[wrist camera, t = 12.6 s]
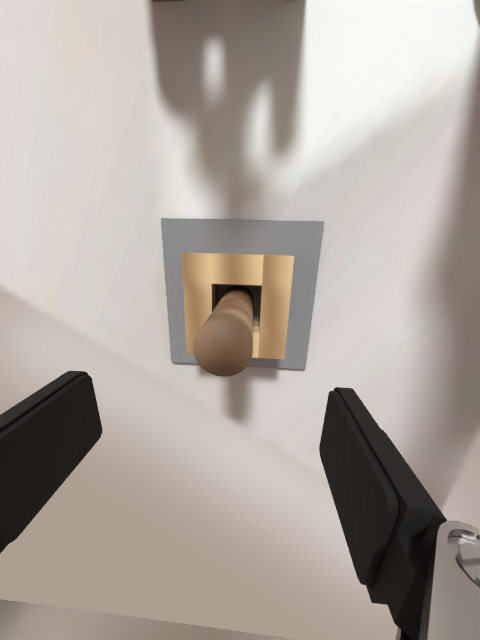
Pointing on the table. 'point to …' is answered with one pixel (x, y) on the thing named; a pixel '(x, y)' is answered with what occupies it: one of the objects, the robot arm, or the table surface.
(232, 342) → the walnut dowel
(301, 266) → the slate mat
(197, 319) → the square-hole wood block
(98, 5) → the table surface
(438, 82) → the table surface
